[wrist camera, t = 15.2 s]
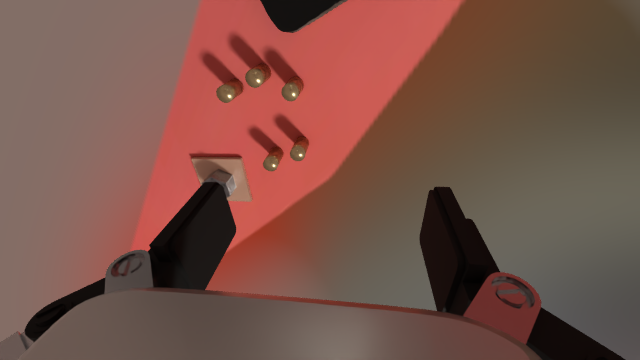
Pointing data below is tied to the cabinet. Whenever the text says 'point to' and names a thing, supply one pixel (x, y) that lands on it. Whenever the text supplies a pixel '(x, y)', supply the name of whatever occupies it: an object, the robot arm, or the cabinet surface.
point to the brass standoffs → (289, 93)
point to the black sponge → (297, 12)
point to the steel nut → (222, 181)
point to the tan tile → (231, 166)
